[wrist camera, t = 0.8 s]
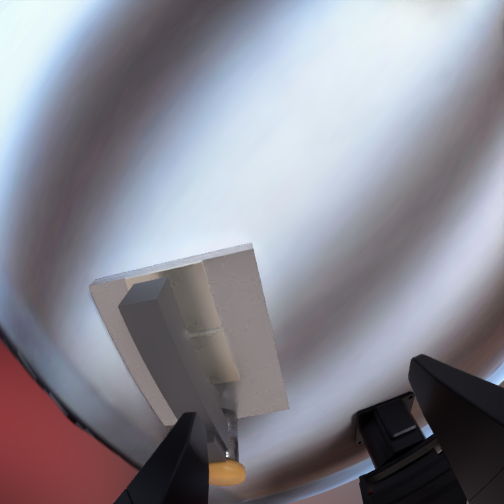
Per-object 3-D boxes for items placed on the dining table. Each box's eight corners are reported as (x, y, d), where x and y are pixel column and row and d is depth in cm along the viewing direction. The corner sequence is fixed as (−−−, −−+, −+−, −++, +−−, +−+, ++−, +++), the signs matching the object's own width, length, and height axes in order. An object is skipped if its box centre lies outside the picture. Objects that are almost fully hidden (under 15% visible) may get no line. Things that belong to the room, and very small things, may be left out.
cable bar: (247, 445, 19) (250, 483, 15) (208, 449, 19) (207, 487, 15) (178, 273, 14) (162, 311, 11) (124, 286, 14) (96, 322, 11)
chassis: (288, 403, 22) (300, 460, 16) (169, 420, 22) (159, 474, 16) (252, 242, 18) (261, 285, 12) (95, 279, 18) (51, 325, 12)
